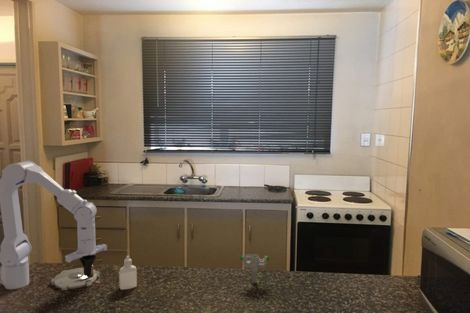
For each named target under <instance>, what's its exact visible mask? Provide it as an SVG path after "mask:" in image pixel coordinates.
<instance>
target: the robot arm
mask: <svg viewBox="0 0 470 313" xmlns="http://www.w3.org/2000/svg"><path fill="white" fill-rule="evenodd" d="M1 174H2V175H1V177H0V213H1V220H2V228H3V229H2V230H3V236H4V237H3V239H2V241H1V244H0V263H1V266H0V281H1V282H0V283H1V285H2V286H4V288H5V289H7V290H16V289H21V288H23V287H26V286H28V285H29V284H30V268H29V264H30V263H29V255H30V254H31V252H32V249H33V247H32V245H31V243H30V241H29V238H28V235H27V234H25V233H24V229H23V223H22V222H23V220H22V215H21V214H22V212H21V206H20V199H19V190H18V189H19V188H20V187H22V185H24V184H25V183H26V184H37V185H39V186H40V187H42V188H43V189H45V190H46V191H48V192H49V193H51V194H52V195H54V196H55V197H56V200H57V203H58V204H59V205H61V206H62V207H63V208H65V209H66V210H67V211H69V212H70V213H71V214H73V217H74V220H76V222H77V226H76V228H77V250H75V251H74V252H71V253H69V254H67V255H65V262H66V263H71V262H73V261H75V260H79V261H80V263H81V265H82V268H83V267H84V275H85V276H87V277H88V276H91V267H92V265H94V263H95V261H96V257H97V256H96V254H97V253H99V252H103V251H104V252H105V251H107V250H108V245H107V244H104V243H102V244H98V245H96V241H97V240H96V219H95V216H96V215H97V212H98V209H97V206H96V205H95V204H94V202H93V201H91V202H90V201H88V200H87V199H84V198H82V197H81V196H79V195H78V194H77V191H76V190H75V189H70V188H69V189H67V188H65V189H64V187H62V185H60V184H59V183H58V182H56V181H55V180H54V179H53V178H52V177H51V176H50V175H49V174H48V173H46V172H45V171H44V170H43V168H42V167H41V166H40V165H37V164H36V163H35V162H34V161H32V160H23V161H20V162H14V163H10V164H8V165H6V166H5V168H3V169H2V170H1Z"/></svg>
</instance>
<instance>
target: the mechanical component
mask: <svg viewBox="0 0 470 313" xmlns="http://www.w3.org/2000/svg"><path fill="white" fill-rule="evenodd" d="M240 261H242V265H243V267H245V268H251V269H250V271H251V272H252V276H251V278H252V279H251V280H252V281H251V282H252V284H256V283H257V272H258V271H259V269H258V268H266V267H267V265H268V264H267V262H269V261H270V256H267V255H264V257H263V258H260V256H259V254H256V253H255V254H254V253H253V254H251V253H250V254H248V253H247V254H246V253H245V254H244V253H243V254H242V255H240Z"/></svg>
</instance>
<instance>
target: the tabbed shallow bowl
mask: <svg viewBox="0 0 470 313" xmlns="http://www.w3.org/2000/svg"><path fill="white" fill-rule="evenodd" d="M100 274H101V273H100V271H99V270H95V268H94V264H92V267H91V276H88V277H87V276H85V275H84V267H83V266H82V267H76V268H71V269H65V270H62V271H61V272H60V273H58V274H57V275H56V276H54V278H51V286H55V288H57V289H60V290H61V291H68V290H75V289H80V288H83V287H89V286H91V285H92V284H93V283H94V282H96V281H97V278H99V277H100ZM92 286H93V285H92Z"/></svg>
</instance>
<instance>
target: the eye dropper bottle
mask: <svg viewBox="0 0 470 313" xmlns="http://www.w3.org/2000/svg"><path fill="white" fill-rule="evenodd" d="M132 261H133V260H132V259H131V258H130V256H129V255H126V257H125V259H124V260H123V262H124V263H123V266H122V267H120V268H119V274H118V276H119V277H118V278H119V289H120V290H129V289H134V288H136V287H137V285H138V280H137V279H138V276H137V274H138V273H137V270H138V269H137V266H135V265H134V264H133V263H132Z"/></svg>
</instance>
